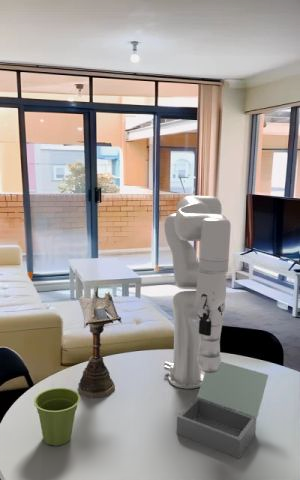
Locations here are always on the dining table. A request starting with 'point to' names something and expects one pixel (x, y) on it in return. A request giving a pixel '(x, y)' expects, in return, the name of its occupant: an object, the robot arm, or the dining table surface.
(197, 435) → the grey open box
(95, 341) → the ornate pedestal stand
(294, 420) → the dining table surface
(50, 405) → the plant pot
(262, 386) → the cover
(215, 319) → the plastic bottle
